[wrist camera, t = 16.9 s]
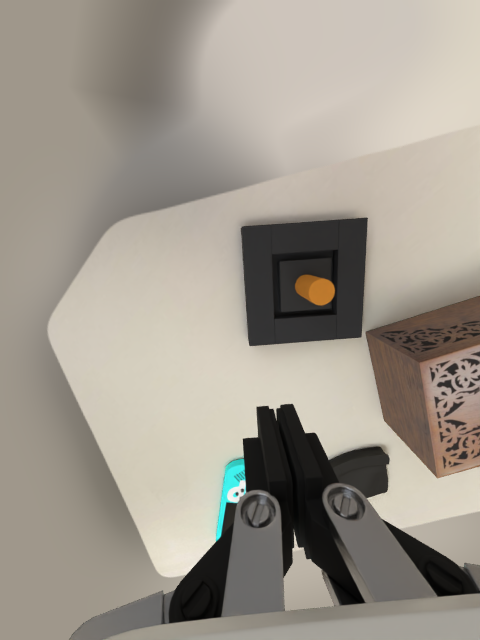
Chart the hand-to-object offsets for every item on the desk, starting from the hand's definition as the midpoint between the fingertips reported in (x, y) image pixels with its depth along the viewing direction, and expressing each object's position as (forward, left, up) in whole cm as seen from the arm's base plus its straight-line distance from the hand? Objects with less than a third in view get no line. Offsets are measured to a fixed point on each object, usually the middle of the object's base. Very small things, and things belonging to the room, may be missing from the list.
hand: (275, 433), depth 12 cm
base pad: (-4, +7, -22) cm, 23 cm away
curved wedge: (+26, +14, -22) cm, 37 cm away
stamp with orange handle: (-4, +7, -21) cm, 23 cm away
